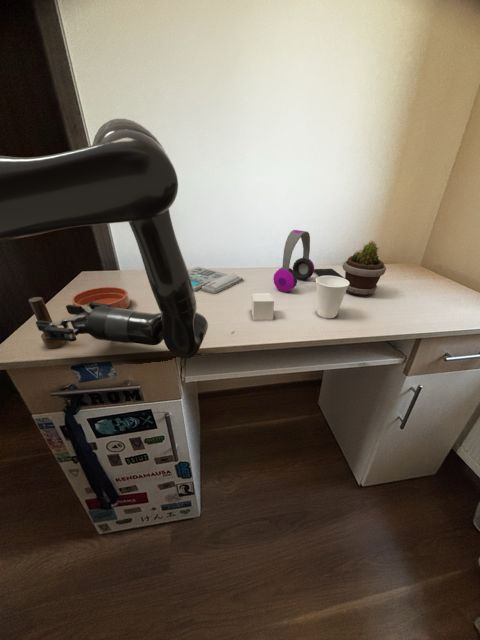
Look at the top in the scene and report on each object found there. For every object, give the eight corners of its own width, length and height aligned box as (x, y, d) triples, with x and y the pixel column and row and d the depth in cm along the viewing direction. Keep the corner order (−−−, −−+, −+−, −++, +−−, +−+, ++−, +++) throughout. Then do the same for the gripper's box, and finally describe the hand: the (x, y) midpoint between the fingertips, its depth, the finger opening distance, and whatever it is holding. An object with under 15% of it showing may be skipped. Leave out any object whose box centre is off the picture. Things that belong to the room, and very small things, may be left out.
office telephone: (243, 274, 112) (211, 289, 97) (243, 280, 113) (212, 296, 98) (197, 263, 121) (162, 275, 106) (198, 269, 122) (163, 282, 107)
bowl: (71, 322, 79) (66, 309, 77) (80, 301, 91) (76, 289, 89) (129, 315, 84) (126, 303, 82) (131, 296, 96) (128, 285, 94)
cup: (304, 310, 91) (309, 277, 85) (329, 306, 95) (335, 274, 89) (322, 324, 84) (328, 288, 78) (349, 318, 87) (356, 284, 81)
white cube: (273, 319, 85) (274, 301, 82) (253, 320, 84) (253, 301, 81) (270, 310, 90) (271, 293, 87) (251, 311, 89) (251, 293, 86)
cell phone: (331, 270, 127) (331, 268, 127) (349, 284, 113) (350, 282, 112) (313, 271, 126) (313, 268, 125) (329, 285, 111) (329, 283, 111)
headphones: (291, 295, 101) (297, 237, 90) (270, 290, 105) (273, 233, 94) (314, 279, 116) (321, 228, 105) (295, 275, 120) (300, 225, 109)
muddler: (43, 349, 67) (21, 303, 61) (47, 341, 71) (27, 296, 64) (62, 347, 69) (43, 301, 62) (66, 339, 72) (48, 294, 65)
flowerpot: (338, 283, 114) (348, 230, 103) (378, 288, 111) (392, 234, 100) (336, 296, 102) (347, 238, 91) (380, 302, 99) (397, 242, 88)
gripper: (132, 297, 66) (71, 290, 69) (90, 324, 55) (18, 315, 57) (138, 325, 71) (81, 317, 73) (101, 356, 59) (34, 346, 61)
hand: (53, 316), depth 65 cm, fingers open, 8 cm apart
